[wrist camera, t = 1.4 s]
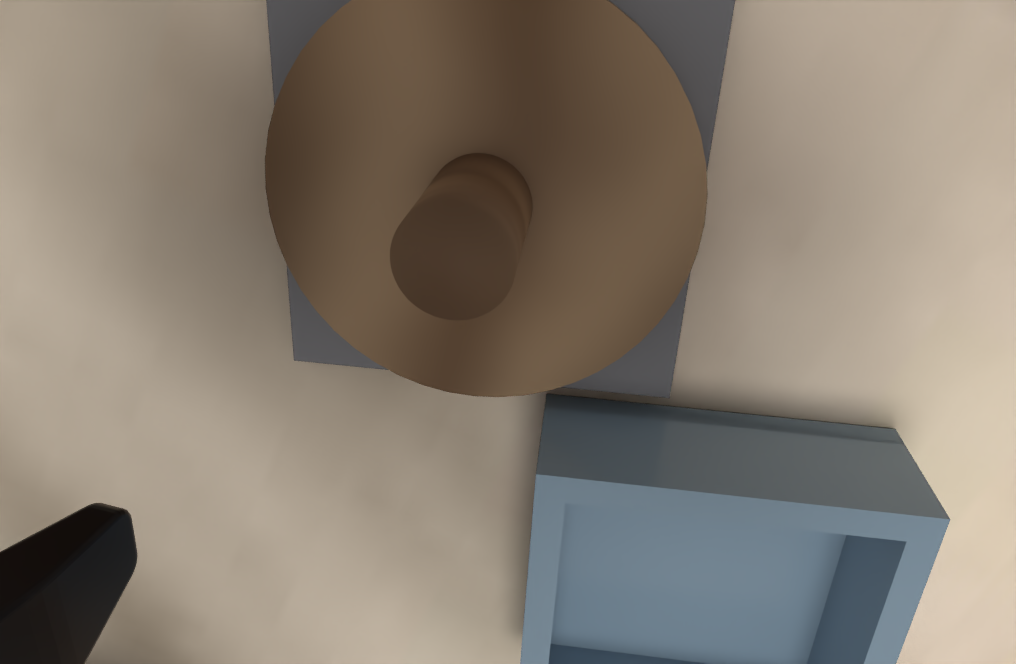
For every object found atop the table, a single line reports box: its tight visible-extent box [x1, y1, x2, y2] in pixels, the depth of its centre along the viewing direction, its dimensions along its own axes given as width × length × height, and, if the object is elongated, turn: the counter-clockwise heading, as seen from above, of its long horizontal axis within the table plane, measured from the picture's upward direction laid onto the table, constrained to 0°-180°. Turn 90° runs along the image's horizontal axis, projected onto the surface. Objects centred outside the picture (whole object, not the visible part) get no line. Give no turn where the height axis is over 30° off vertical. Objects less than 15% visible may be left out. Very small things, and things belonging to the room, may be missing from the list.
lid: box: [265, 0, 707, 397], centre depth 18 cm, size 11×11×5 cm
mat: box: [266, 0, 735, 398], centre depth 21 cm, size 11×11×1 cm
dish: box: [520, 394, 950, 664], centre depth 23 cm, size 10×10×4 cm
